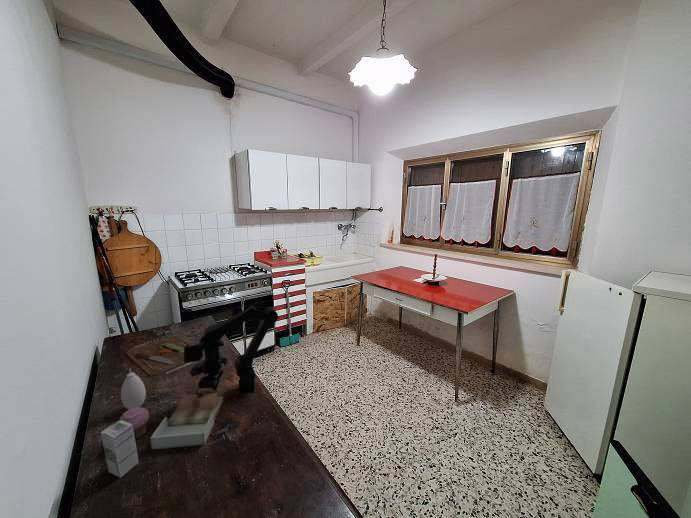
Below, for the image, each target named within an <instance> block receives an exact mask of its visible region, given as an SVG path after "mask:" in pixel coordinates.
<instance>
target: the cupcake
mask: <svg viewBox="0 0 691 518" xmlns="http://www.w3.org/2000/svg"><path fill="white" fill-rule="evenodd" d="M149 418H150V412H149V410H148V409H147V408H145V407H139V408H132V409H130V410H129V409H127V410H126V411H125V412H124V413H122V415H121V416H120V418H119V420H123V421H125V422H128V423H130V424H132V425H133V431H134V437H135V440H137V439H139V438H140V437H142V436H144V435H146V433H147V422H148V421H149ZM119 420H118V421H119Z"/></svg>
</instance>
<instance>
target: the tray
mask: <svg viewBox="0 0 691 518" xmlns="http://www.w3.org/2000/svg"><path fill="white" fill-rule="evenodd" d="M214 425H215V420H214V415H213V413H212V414H211V416H210V418H209V420H208V422H207V423H203V424H191V425H179V426H169V425H168V417H167V416H165V417H164V418H163V419H162V421H161V422H160V423H159V425H158V426H157V428H156V429H155V431H154V432H153V434H152V435H151V436H150V438H149V439H150V445H151V450H152V451H153V450H161V449H172V448H184V447H192V446H193V447H194V446H203V445H204V446H205V445H206V443H207V440H208V438H209V437H210V434H211V431H212V429H213V428H214Z"/></svg>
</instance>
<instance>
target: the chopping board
mask: <svg viewBox="0 0 691 518" xmlns="http://www.w3.org/2000/svg"><path fill="white" fill-rule="evenodd" d="M170 337H171V338H170ZM173 337H175V338H177V339H178V340H180V341H182V342H183V343H184V344H186V345H187V346H191V345H192V344H191V343H190V342H189V341H187V340H185V339H183V338H181V337H180V336H178V335H169V336H167V337H165V338H163V337H162V338H163V339H160V338H158V339H160V340H158V339H155V340H157V341H155V340H151V341H148V342H145V343H141V344H139V345H136V346H134V347H132V348H130V349H128V350H126V351H125V355H126V356H128V357H129V359H131V361H133V362H134V363H135V364H136V365H137V366H138V368H140V369H141V370H142V371H143V372H144V373H146V374H147V375H148V376H149V377H153V376H159V375H161V374H165V375H168V374H170V373H172V372H174V371H177V370H179V369H181V368H184V367H186V366H189V365H191V364H193V363H197V361H194V362H190V363H186V364H185V363H184V346H186V345H184V344H182V343H181V342H179V341H178V340H176V339H174V338H173ZM167 338H168V339H167ZM164 339H165V340H164ZM152 341H154V342H152ZM149 342H151V343H149ZM146 343H148V344H146ZM203 356H205V351H203Z"/></svg>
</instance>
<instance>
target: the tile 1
mask: <svg viewBox="0 0 691 518" xmlns="http://www.w3.org/2000/svg"><path fill="white" fill-rule="evenodd" d="M197 398H198V394H187V395H185V394H184V395H183V396H182V397H181V398H180V401H179V402H178V403H177V407H178V409H179V411H182V410H192V409H193V407H194V406H195V404H196V403H197Z"/></svg>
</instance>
